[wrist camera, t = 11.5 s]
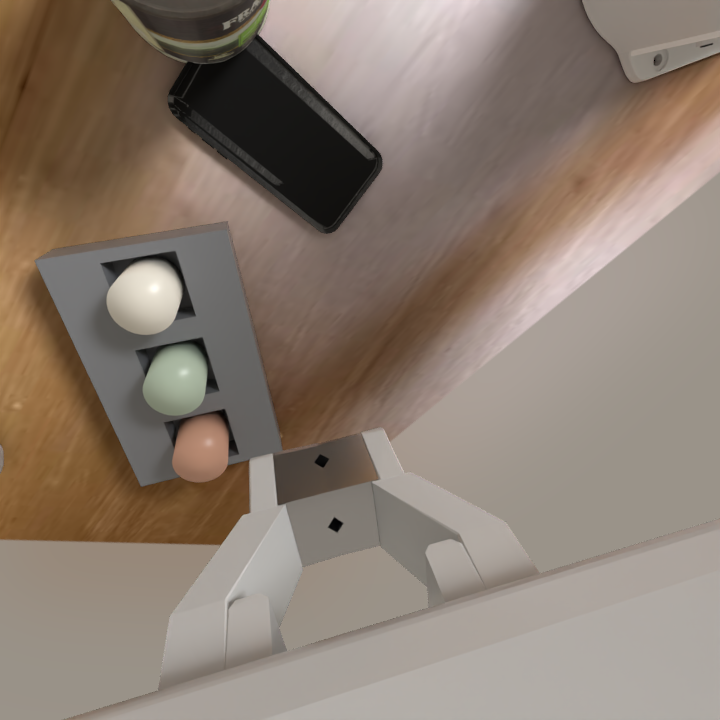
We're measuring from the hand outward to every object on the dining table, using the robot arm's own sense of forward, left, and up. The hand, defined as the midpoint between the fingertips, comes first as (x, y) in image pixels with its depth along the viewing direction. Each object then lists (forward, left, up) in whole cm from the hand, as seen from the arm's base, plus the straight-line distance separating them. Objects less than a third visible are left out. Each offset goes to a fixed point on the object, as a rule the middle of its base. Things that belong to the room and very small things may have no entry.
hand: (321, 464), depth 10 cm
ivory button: (+9, +3, -29) cm, 30 cm away
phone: (-3, -6, -31) cm, 32 cm away
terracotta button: (+9, +17, -28) cm, 34 cm away
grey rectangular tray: (+9, +10, -30) cm, 33 cm away
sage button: (+9, +10, -28) cm, 31 cm away
